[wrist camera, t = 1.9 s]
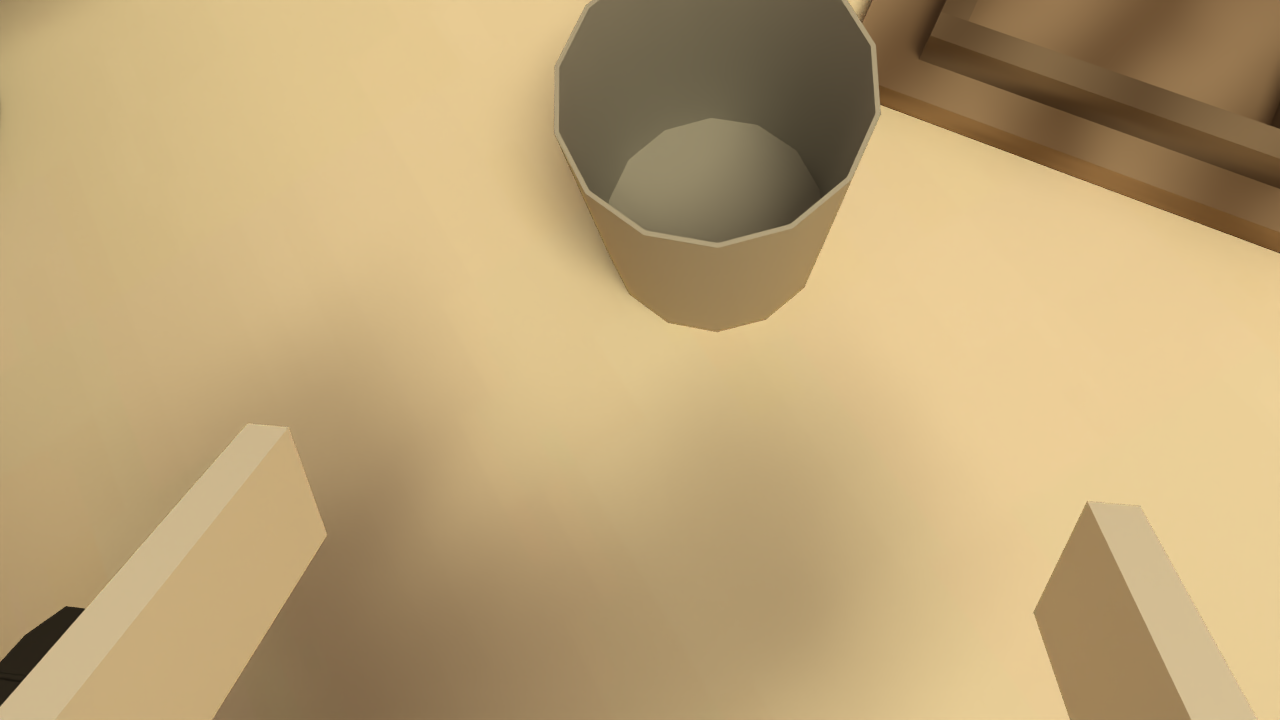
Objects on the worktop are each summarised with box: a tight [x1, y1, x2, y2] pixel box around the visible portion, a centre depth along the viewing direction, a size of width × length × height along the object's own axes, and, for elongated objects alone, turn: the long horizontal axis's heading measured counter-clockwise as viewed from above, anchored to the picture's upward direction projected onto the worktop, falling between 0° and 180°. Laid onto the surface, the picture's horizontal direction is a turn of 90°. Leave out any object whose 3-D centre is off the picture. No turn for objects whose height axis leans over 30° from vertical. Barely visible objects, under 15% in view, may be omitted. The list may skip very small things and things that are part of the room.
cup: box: [554, 0, 881, 332], centre depth 24 cm, size 8×8×10 cm
